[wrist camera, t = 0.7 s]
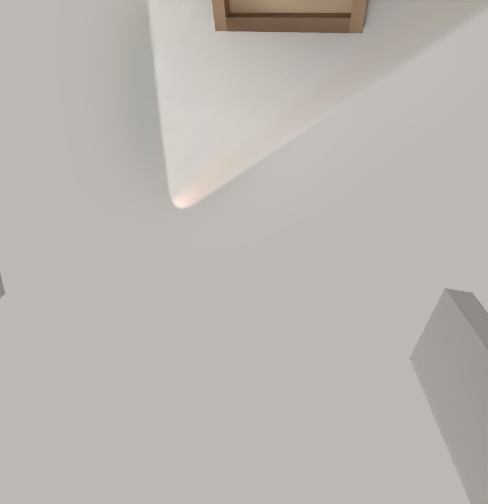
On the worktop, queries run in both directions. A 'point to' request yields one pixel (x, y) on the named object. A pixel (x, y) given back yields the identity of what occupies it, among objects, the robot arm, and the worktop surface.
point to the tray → (290, 15)
